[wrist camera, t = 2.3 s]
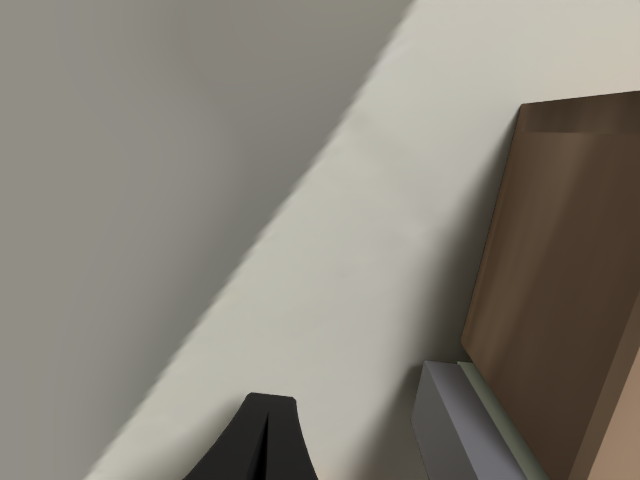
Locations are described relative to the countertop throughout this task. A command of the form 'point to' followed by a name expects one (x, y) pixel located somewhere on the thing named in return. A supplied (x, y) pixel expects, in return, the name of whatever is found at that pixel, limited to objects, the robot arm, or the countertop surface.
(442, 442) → the door
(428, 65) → the countertop surface
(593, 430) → the cabinet
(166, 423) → the countertop surface
